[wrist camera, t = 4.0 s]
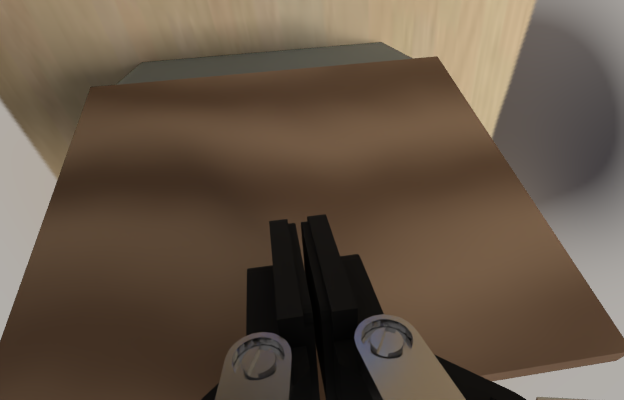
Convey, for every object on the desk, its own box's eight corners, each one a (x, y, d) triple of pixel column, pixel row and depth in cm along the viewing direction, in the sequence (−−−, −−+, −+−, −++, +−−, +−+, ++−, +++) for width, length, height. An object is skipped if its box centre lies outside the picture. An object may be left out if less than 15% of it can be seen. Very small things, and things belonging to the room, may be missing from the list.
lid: (106, 119, 22) (90, 87, 20) (429, 88, 23) (437, 56, 22) (-7, 512, 11) (-59, 507, 9) (612, 403, 12) (654, 384, 11)
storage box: (141, 62, 29) (97, 99, 21) (381, 42, 31) (433, 69, 22) (188, 240, 37) (170, 321, 29) (376, 217, 39) (413, 287, 30)
